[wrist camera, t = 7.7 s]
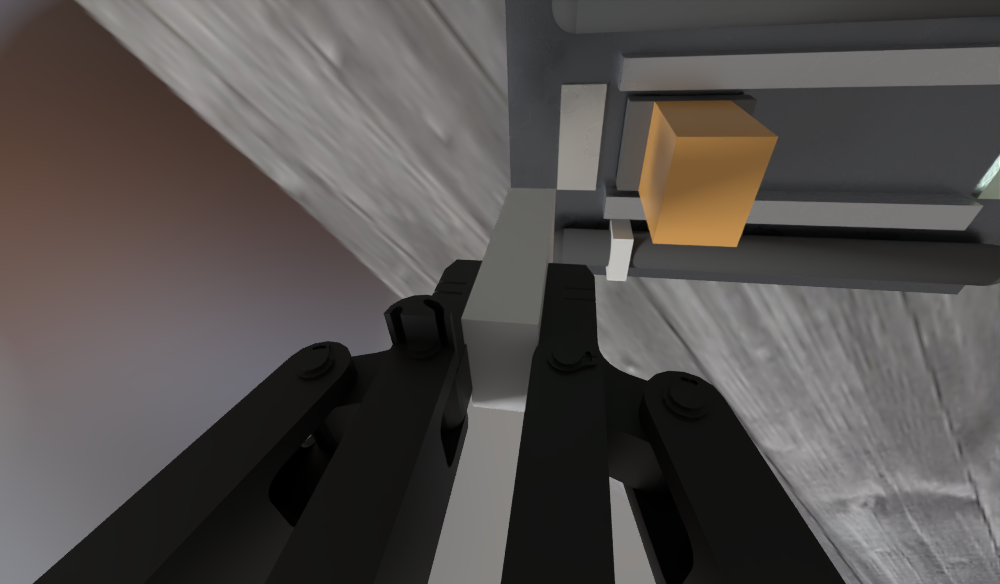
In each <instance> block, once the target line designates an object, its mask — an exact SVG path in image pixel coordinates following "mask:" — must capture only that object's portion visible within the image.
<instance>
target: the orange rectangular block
mask: <svg viewBox="0 0 1000 584" xmlns="http://www.w3.org/2000/svg"><path fill="white" fill-rule="evenodd" d="M756 103H757V99H755V98H754V97H752V96H750V95H696V96H631V97H628V100H627V107H626V114H625V121H624V128H623V135H622V142H621V149H620V157H619V164H618V171H617V178H616V186H617V190H623V191H639V195H640V198H641V202H642V206H643V209H644V213H645V217H646V220H647V224H648V227H649V231H650V235H651V238H652V242H653V244H676V245H700V246H723V247H737V245H738V242H739V240H740V237H741V234H742V232H743V229H744V226H745V224H746V221H747V218H748V216H749V213H750V211H751V208H752V205H753V203H754V200H755V197H756V195H757V192H758V189H759V187H760V184H761V182H762V179H763V176H764V174H765V171H766V168H767V166H768V163H769V160H770V158H771V155H772V152H773V150H774V147H775V145H776V142H777V139H778V136H777V135H775V134H774V133H773V132H771V131H770V130H769V129H768V128H766V127H765V126H764V125H762V124H761V123H760V122H758V121H757V120H756V119H755V118H753V117H752V115H753V112H754V109H755V106H756Z"/></svg>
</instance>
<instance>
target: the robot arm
mask: <svg viewBox="0 0 1000 584" xmlns="http://www.w3.org/2000/svg"><path fill="white" fill-rule="evenodd" d="M555 197H556V189H540V188H509V191H508V194H507V196H506V199H505V202H504V205H503V207H502V210H501V213H500V215H499V218H498V221H497V223H496V226H495V229H494V232H493V234H492V237H491V240H490V242H489V245H488V248H487V250H486V253H485V256H484V258H483V261H477V260H458V259H457V260H456V261H455V262H454V263H452V264H451V265H450V266H449V267H447V268H446V269H445V271H444V273H443V275H442V277H441V279H440V281H439V283H438V285H437V287H436V289H435V292H434V293H433V295H432V296H431V295H415V296H411V297H408V298H404V299H401V300H400V301H398V302H396V303H395V304H393V305H391V306H390V307H389V309H387V311H386V312H385V313H384V316H385V319H386V323H387V326H388V330H389V333H390V336H391V340H392V343H393V345H392V347H391V349H389V350H386V351H382V352H378V353H372V354H365V355H360V356H353V357H351V354H350V352H349V350H348V348H347V347H346V346H344V345H342V344H341V343H337V342H329V341H327V342H321V343H315V344H313V345H310V346H308V347H305V348H303V349H301V350H300V351H299V352H297V353H296V354H294V355H292V356H291V357H290V358H289V359H288V360H286V361H285V362H284V363H283V364H282V365H281V366H280V367H279V368H277V369H276V370H275V371H274V372H273V373H272V374H271V375H269V376H268V377H267V378H266V379H265V380H264V381H263V382H262V383H260V384H259V385H258V386H257V387H256V388H255V389H253V391H251V392H250V393H249V394H248V395H247V396H246V397H244V398H243V399H242V400H241V401H240V402H239V403H238V404H236V405H235V406H234V407H233V408H232V409H231V410H230V411H228V412H227V413H226V414H225V415H224V416H223V417H222V418H221V419H219V420H218V421H217V422H216V423H215V424H214V425H213V426H211V428H209V429H208V430H207V431H206V432H205V433H203V435H201V436H200V437H199V438H198V439H197V440H196V441H194V442H193V443H192V444H191V445H190V446H189V447H188V448H187V449H186V450H184V451H183V452H182V453H181V454H180V455H179V456H177V457H176V458H175V459H174V460H173V461H172V462H171V463H170V464H168V465H167V466H166V467H165V468H164V469H163V470H162V471H160V472H159V473H158V474H157V475H156V476H155V477H154V478H152V479H151V480H150V481H149V482H148V483H147V484H146V485H145V486H143V487H142V488H141V489H140V490H139V491H138V492H136V493H135V494H134V495H133V496H132V497H131V498H130V499H128V500H127V501H126V502H125V503H124V504H123V505H122V506H121V507H119V508H118V509H117V510H116V511H115V512H114V513H113V514H111V515H110V516H109V517H108V518H107V519H106V520H105V521H103V522H102V523H101V524H100V525H99V526H98V527H97V528H96V529H94V531H92V532H91V533H90V534H89V535H88V536H87V537H85V538H84V539H83V540H82V541H81V542H80V543H78V544H77V545H76V546H75V547H74V548H73V549H72V550H71V551H70V552H68V553H67V554H66V555H65V556H64V557H63V558H62V559H60V560H59V561H58V562H57V563H56V564H55V565H54V566H52V567H51V568H50V569H49V570H48V571H47V572H46V573H45V574H43V575H42V576H41V577H40V578H39V579H38V580H36V581H35V582H34V583H33V584H428V580H429V576H430V572H431V569H432V564H433V561H434V557H435V553H436V549H437V545H438V541H439V538H440V534H441V530H442V525H443V522H444V518H445V514H446V510H447V506H448V502H449V499H450V495H451V491H452V487H453V483H454V479H455V476H456V472H457V468H458V464H459V460H460V456H461V452H462V448H463V445H464V440H465V437H466V433H467V429H468V414H467V408H468V404H469V400H470V397H471V394H472V401H473V406H476V407H485V408H494V409H502V410H511V411H521V412H525V413H524V420H523V427H522V435H521V442H520V449H519V456H518V463H517V470H516V478H515V485H514V493H513V499H512V507H511V514H510V522H509V528H508V536H507V543H506V550H505V557H504V564H503V571H502V579H501V584H615V575H614V559H613V558H614V557H613V539H612V523H611V504H610V485H609V477H612V478H614V479H616V480H618V481H620V482H622V483H623V485H624V488H625V491H626V494H627V497H628V500H629V503H630V506H631V509H632V512H633V515H634V518H635V521H636V524H637V527H638V530H639V533H640V536H641V539H642V542H643V546H644V549H645V552H646V555H647V558H648V561H649V564H650V567H651V570H652V573H653V576H654V579H655V582H656V584H846V583H845V582H844V580H843V579H842V577H841V576H840V574H839V573H838V571H837V569H836V568H835V566H834V565H833V563H832V562H831V560H830V559H829V557H828V556H827V554H826V553H825V551H824V550H823V548H822V547H821V545H820V544H819V542H818V540H817V539H816V537H815V536H814V534H813V533H812V531H811V530H810V528H809V527H808V525H807V524H806V522H805V521H804V519H803V518H802V516H801V515H800V513H799V512H798V510H797V508H796V507H795V505H794V504H793V502H792V501H791V499H790V498H789V496H788V495H787V493H786V492H785V490H784V489H783V487H782V486H781V484H780V483H779V481H778V479H777V478H776V476H775V475H774V473H773V472H772V470H771V469H770V467H769V466H768V464H767V463H766V461H765V460H764V458H763V457H762V455H761V454H760V452H759V451H758V449H757V447H756V446H755V444H754V443H753V441H752V440H751V438H750V437H749V435H748V434H747V432H746V431H745V429H744V428H743V426H742V425H741V423H740V422H739V420H738V418H737V417H736V415H735V414H734V412H733V411H732V409H731V408H730V406H729V405H728V403H727V402H726V400H725V399H724V397H723V396H722V395H721V394H720V393H719V392H718V391H717V390H716V388H715V387H714V386H713V385H711V384H709V383H708V382H706V381H705V380H703V379H701V378H700V377H698V376H695V375H692V374H689V373H686V372H679V371H666V372H662V373H659V374H656V375H654V376H653V377H652V378H651V379H649V380H648V381H646V380H644V379H641V378H638V377H635V376H632V375H629V374H627V373H625V372H622V371H620V370H618V369H617V368H615V367H614V366H612V365H611V364H610V363H609V362H608V361H607V360H606V359H605V358H604V357H603V355H602V354H601V352H600V350H599V346H598V339H597V318H596V303H595V301H596V297H595V277H594V275H593V274H592V272H591V271H590V270H589V268H588V267H587V266H586V265H581V264H561V263H553V243H554V220H555ZM310 435H311V436H310ZM309 436H310V437H309ZM308 437H309V438H308ZM307 438H308V439H307ZM306 439H307V440H306Z"/></svg>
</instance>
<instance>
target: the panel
mask: <svg viewBox="0 0 1000 584" xmlns="http://www.w3.org/2000/svg"><path fill="white" fill-rule="evenodd" d="M505 5H506V37H507V69H508V101H509V133H510V165H511V188H540V189H556V197H555V220H554V231H555V230H557V229H562V228H569V229H596V230H609V227H610V220H611V219H630V224H631V229H632V231H649V227H648V224H647V220H646V217H645V213H644V209H643V206H642V202H641V198H640V195H639V191H623V190H617V186H616V178H617V171H618V164H619V157H620V149H621V142H622V135H623V128H624V121H625V114H626V107H627V100H628V97H631V96H696V95H750V96H752V97H754V98H755V99H757V103H756V106H755V109H754V112H753V115H752V117H753V118H755V119H756V120H757V121H758V122H760V123H761V124H762V125H764V126H765V127H766V128H768V129H769V130H770V131H771V132H773V133H774V134H775V135H777V136H778V139H777V142H776V145H775V147H774V150H773V152H772V155H771V158H770V160H769V163H768V166H767V168H766V171H765V174H764V176H763V179H762V182H761V184H760V187H759V189H758V192H757V195H756V197H755V200H754V203H753V205H752V208H751V211H750V213H749V216H748V218H747V221H746V224H745V226H744V229H743V232H742V234H741V235H758V236H785V237H811V238H838V239H865V240H892V241H919V242H946V243H973V244H993V245H998V246H999V245H1000V16H992V17H968V18H944V19H920V20H895V21H871V22H847V23H822V24H798V25H774V26H750V27H725V28H701V29H677V30H652V31H628V32H604V33H579V34H575V33H569V32H566V31H564V30H563V29H562V28H560V27H559V26H558V24H557V23H556V21H555V19H554V16H553V12H552V0H505ZM553 263H555V262H554V261H553ZM586 266H587V267H588V268H589V270H590V271H591V272H592V274H597V275H607V274H606V266H590V265H586ZM627 276H633V277H651V278H669V279H687V280H706V281H724V282H742V283H760V284H778V285H796V286H814V287H833V288H851V289H869V290H887V291H905V292H923V293H942V294H958V293H959V292H960V290H961V289H962V288H963V287H964V286H965V285H958V284H938V283H919V282H900V281H880V280H861V279H842V278H822V277H803V276H784V275H764V274H745V273H725V272H706V271H687V270H667V269H648V268H629V267H628V273H627Z"/></svg>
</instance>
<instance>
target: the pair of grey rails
mask: <svg viewBox="0 0 1000 584" xmlns="http://www.w3.org/2000/svg"><path fill="white" fill-rule="evenodd" d="M552 12H553V16H554V19H555V21H556V23H557V24H558V26H559V27H560V28H562V29H563V30H564V31H566V32H569V33H575V34H579V33H604V32H628V31H652V30H677V29H701V28H725V27H750V26H774V25H798V24H822V23H847V22H871V21H895V20H920V19H944V18H968V17H992V16H1000V0H552ZM553 261H554V262H555V263H561V264H581V265H590V266H606V274H607V280H614V281H626V278H627V273H628V267H629V268H648V269H667V270H687V271H706V272H725V273H745V274H764V275H784V276H803V277H822V278H842V279H861V280H880V281H900V282H919V283H938V284H958V285H977V286H986V285H994V284H998V283H1000V246H998V245H993V244H973V243H946V242H919V241H892V240H865V239H838V238H811V237H785V236H758V235H741V237H740V240H739V242H738V245H737V247H723V246H700V245H676V244H653V242H652V238H651V235H650V231H632V229H631V224H630V219H611V220H610V227H609V230H596V229H569V228H562V229H557V230H555V231H554V243H553Z"/></svg>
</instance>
